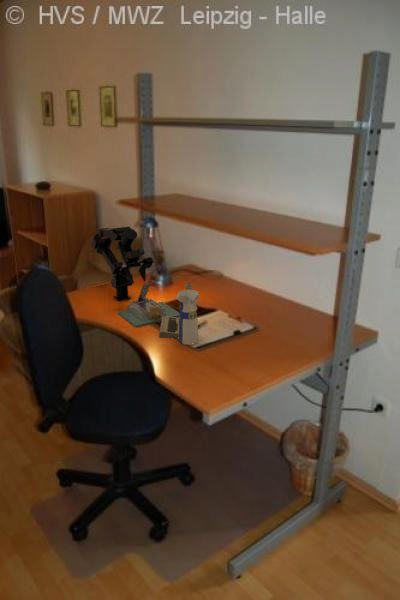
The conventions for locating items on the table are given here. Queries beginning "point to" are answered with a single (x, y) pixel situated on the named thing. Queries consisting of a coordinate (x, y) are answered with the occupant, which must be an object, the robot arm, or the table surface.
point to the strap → (143, 292)
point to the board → (138, 322)
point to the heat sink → (147, 310)
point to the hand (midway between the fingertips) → (139, 282)
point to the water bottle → (188, 315)
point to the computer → (169, 327)
